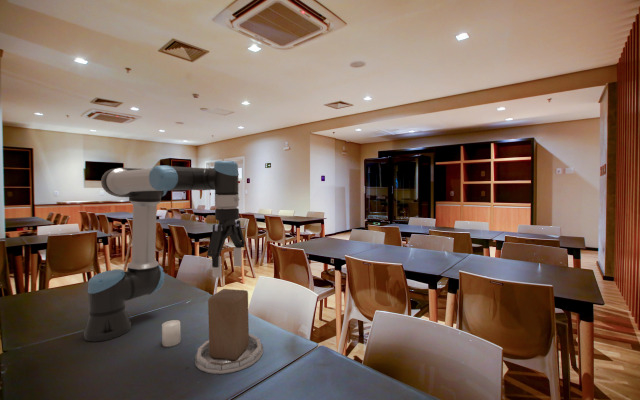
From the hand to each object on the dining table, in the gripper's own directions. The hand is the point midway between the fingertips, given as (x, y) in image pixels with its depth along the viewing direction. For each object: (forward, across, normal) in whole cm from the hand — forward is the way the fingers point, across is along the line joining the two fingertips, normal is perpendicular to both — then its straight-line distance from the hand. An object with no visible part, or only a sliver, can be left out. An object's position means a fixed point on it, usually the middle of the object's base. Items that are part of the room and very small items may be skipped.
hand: (228, 271), depth 101 cm
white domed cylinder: (+28, +3, +25) cm, 38 cm away
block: (+28, 0, 0) cm, 28 cm away
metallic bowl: (+28, 0, 0) cm, 28 cm away
